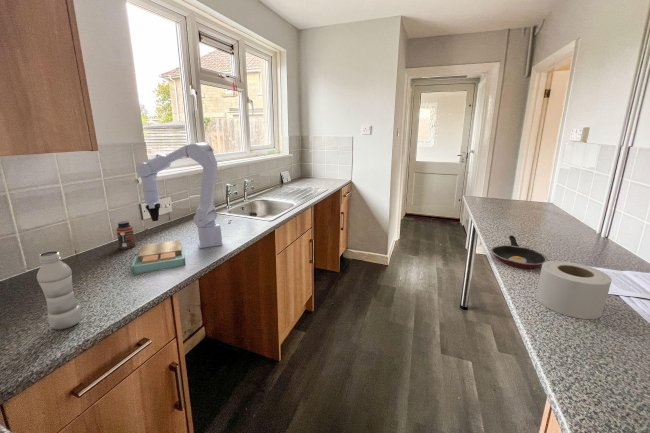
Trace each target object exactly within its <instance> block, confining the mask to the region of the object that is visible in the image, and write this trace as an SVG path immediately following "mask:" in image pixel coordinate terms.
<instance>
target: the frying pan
mask: <svg viewBox="0 0 650 433" xmlns="http://www.w3.org/2000/svg"><path fill="white" fill-rule="evenodd" d="M508 239H509V240H510V245H509V244H507V245H506V244H504V245H503V244H502V245H500V244H499V245H495V246H492V247H491V248H490V251H491V253H492V254H493V257H495V258H496V259H497V260H498V261H499V262H501V263H502V264H504V265H507V266H511V267H515V268H519V269H535V268H538V267H540V266H542V264H543V263H544V262H547V261H549V260H548V259H549V258H548V257H547V256H546V255H545V254H543V253H542V252H539V251H537V250H534V249H530V248H526V247H524V246H523V247H522V246H520V245H519V244H518V242H517V239H516V237H515V236H514V235H511V234H510V235H509V237H508Z"/></svg>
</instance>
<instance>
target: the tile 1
mask: <svg viewBox="0 0 650 433" xmlns="http://www.w3.org/2000/svg"><path fill="white" fill-rule="evenodd" d="M154 262H159V256H158V255H152V256H145V257H143V260H142V264H148V263H154Z"/></svg>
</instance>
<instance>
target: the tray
mask: <svg viewBox="0 0 650 433" xmlns="http://www.w3.org/2000/svg"><path fill="white" fill-rule="evenodd" d="M181 250H182V255H179V256H176V259H173V260H167V261H161V260H160V259H159V262H154V263H148V264H142V261H141V262H139V259H138V255H135V256H134V257H133V260H132V264H131V273H132V275H140V274H145V273H151V272H157V271H163V270H169V269H174V268H175V269H176V268H182V267H186V256H185V248H181Z"/></svg>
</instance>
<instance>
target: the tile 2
mask: <svg viewBox="0 0 650 433" xmlns="http://www.w3.org/2000/svg"><path fill="white" fill-rule="evenodd" d="M173 259H176V255H175V252H171V253H165V254H161V257H160V260H161V261H167V260H173Z"/></svg>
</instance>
